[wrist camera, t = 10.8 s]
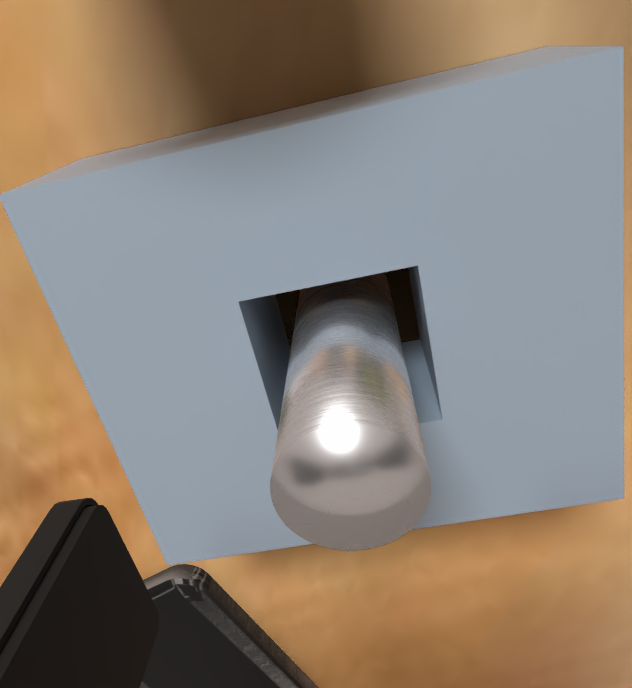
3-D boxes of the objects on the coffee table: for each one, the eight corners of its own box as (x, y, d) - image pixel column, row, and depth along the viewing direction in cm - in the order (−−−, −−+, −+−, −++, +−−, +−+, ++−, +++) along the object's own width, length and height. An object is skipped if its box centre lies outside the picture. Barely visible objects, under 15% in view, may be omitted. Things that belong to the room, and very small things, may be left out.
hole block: (546, 46, 17) (623, 45, 12) (565, 405, 22) (624, 498, 17) (81, 159, 18) (-2, 195, 14) (199, 466, 24) (167, 565, 19)
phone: (187, 570, 25) (369, 755, 30) (193, 550, 26) (368, 732, 31) (52, 634, 27) (243, 796, 33) (62, 613, 28) (246, 774, 34)
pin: (380, 241, 19) (418, 410, 10) (396, 324, 21) (441, 538, 12) (290, 260, 20) (251, 439, 11) (311, 340, 21) (291, 560, 12)
